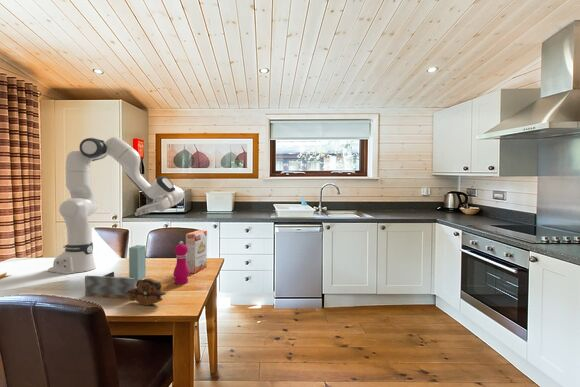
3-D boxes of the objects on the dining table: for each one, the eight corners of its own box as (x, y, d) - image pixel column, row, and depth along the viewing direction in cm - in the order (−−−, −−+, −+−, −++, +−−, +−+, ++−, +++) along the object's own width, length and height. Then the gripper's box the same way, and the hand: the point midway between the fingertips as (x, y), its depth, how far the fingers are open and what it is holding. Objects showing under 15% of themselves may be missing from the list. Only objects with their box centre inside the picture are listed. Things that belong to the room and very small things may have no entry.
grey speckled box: (85, 296, 138) (84, 276, 138) (113, 282, 156) (113, 265, 156) (133, 299, 135) (133, 279, 135) (157, 285, 153) (157, 267, 153)
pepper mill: (180, 285, 153) (180, 243, 152) (170, 283, 157) (169, 241, 156) (192, 281, 159) (192, 240, 158) (182, 279, 163) (182, 239, 162)
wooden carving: (123, 305, 129) (123, 279, 129) (131, 300, 134) (131, 276, 133) (162, 308, 127) (162, 282, 126) (168, 303, 131) (168, 279, 131)
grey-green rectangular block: (129, 280, 160) (128, 247, 159) (137, 276, 167) (137, 245, 166) (137, 280, 160) (137, 248, 159) (145, 277, 166) (145, 245, 165)
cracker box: (195, 273, 172) (195, 234, 171) (185, 273, 174) (184, 233, 173) (207, 266, 186) (207, 230, 185) (197, 266, 187) (197, 229, 186)
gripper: (146, 201, 186) (126, 210, 175) (171, 194, 177) (152, 203, 165) (151, 211, 188) (131, 221, 176) (176, 205, 178) (157, 214, 166)
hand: (141, 212), depth 170 cm, fingers open, 8 cm apart
